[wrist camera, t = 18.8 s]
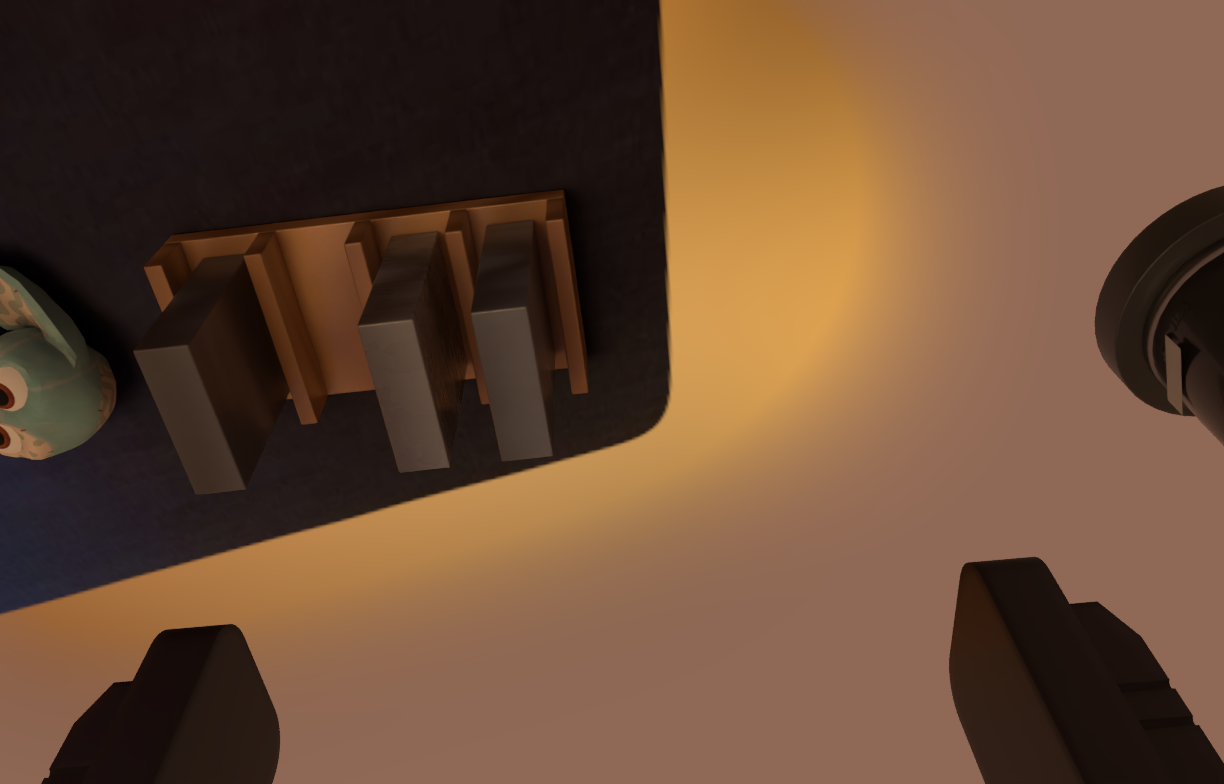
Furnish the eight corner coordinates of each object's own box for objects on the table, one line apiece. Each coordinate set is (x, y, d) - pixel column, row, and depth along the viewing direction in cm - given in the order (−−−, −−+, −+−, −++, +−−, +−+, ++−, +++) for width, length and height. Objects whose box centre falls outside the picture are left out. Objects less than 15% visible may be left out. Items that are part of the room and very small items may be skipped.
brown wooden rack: (563, 188, 44) (562, 281, 36) (587, 356, 49) (590, 469, 41) (171, 234, 45) (84, 335, 37) (233, 395, 50) (168, 515, 42)
